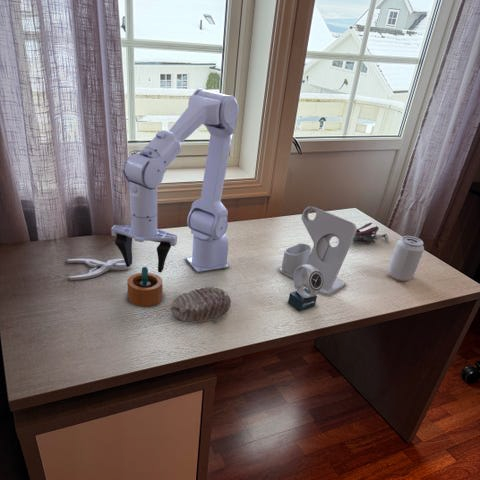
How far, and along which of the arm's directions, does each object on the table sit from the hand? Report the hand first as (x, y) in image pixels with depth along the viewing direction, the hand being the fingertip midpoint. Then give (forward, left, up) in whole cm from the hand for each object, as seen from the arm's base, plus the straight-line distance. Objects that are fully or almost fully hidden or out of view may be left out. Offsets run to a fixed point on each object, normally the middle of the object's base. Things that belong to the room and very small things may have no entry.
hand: (145, 267), depth 104 cm
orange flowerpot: (0, 0, -8) cm, 8 cm away
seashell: (-10, +11, -8) cm, 17 cm away
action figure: (-79, -10, -8) cm, 80 cm away
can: (-74, +13, -8) cm, 76 cm away
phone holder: (-47, +5, -8) cm, 48 cm away
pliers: (+7, -17, -8) cm, 20 cm away
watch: (-36, +16, -8) cm, 40 cm away
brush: (0, 0, -8) cm, 8 cm away
